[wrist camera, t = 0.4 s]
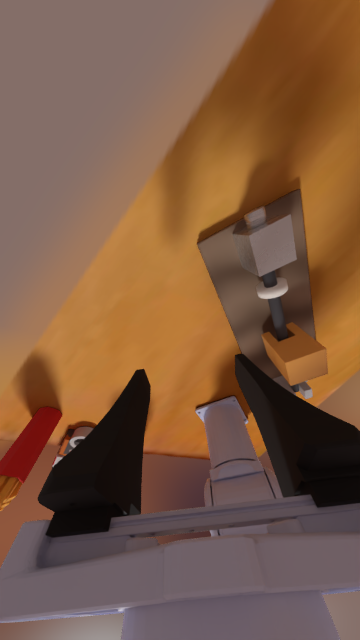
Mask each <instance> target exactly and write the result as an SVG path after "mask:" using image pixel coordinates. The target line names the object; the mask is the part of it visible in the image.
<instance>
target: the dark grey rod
mask: <svg viewBox="0 0 360 640" xmlns="http://www.w3.org/2000/svg"><path fill="white" fill-rule="evenodd" d="M262 279H263V282H261V283H260V284H258V285H257V287H256V290H257V294H258V296H259V297H260V298H263V299H268V303H269V307H270V311H271V315H272V319H273V323H274V327H275V331H276V335H277V339H278V342H279V341H282V340H285V339H287V338H289V337H288V332H287V327H286V322H285V317H284V312H283V307H282V303H281V298H280V296H281V295H283V294H284V293H286V292H287V290H288V285H287V280H286V279H285V278H280V277H277V278H276V273H275V270H273V271H271V272H269V273H267V274H265V275H263V276H262ZM289 386H290V384H289ZM290 387H291V389H292V390H293V391H294V392H298V391H299V385H298V384H295V385H292V386H290Z"/></svg>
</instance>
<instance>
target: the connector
mask: <svg viewBox="0 0 360 640" xmlns="http://www.w3.org/2000/svg"><path fill="white" fill-rule="evenodd" d="M244 218H245V222H246V226H247V227H245V228H243V229H241V230H239V231H237V232H235V233H233V234H232V235H233V238H234V242H235V245H236V248H237V252H238V255H239V258H240V261H241V265H242V268H244V269H246V270H248V271H250V272H251V273H253V274H255V275H257V276H259V277H261V276H263V275H265V274H267V273H269V272H271V271H273V270H275V269H278V268H280V267H282V266H284V265H286V264H288V263H290V262H293V261H295V260H297V257H296V250H295V243H294V235H293V228H292V220H291V214H287V215H278V216H269V217H267V216H266V211H265V206H264V205H263V206H260V207H258V208H256V209H254V210H252V211H250V212H248V213H246V214H245V215H244Z"/></svg>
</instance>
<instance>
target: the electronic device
mask: <svg viewBox="0 0 360 640" xmlns="http://www.w3.org/2000/svg"><path fill="white" fill-rule="evenodd" d="M93 429H94V428H91V427H79V428H77V429H76V430H72V429H69V430H68V432H67V434H66V436H65V438H64V440H63V443H62V445H61V447H60V449H59V451H58V453H57V455H56V457H55V460H54V462H53V464H52V468H53V466H54V465H55V464H57V463H58V462H59V461H60V460H61V459H62V458H63V457H65V456H66V455H67V454H68V453H69V452H70V451H71V450H73V449H74V448H75V447H76V446H77V445H78V444H79V443H80V442H81V441H82V440H83V439H84V438H85V437H86V436H87V435H88V434H89V433H90V432H91V431H92V430H93Z"/></svg>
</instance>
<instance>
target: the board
mask: <svg viewBox="0 0 360 640" xmlns="http://www.w3.org/2000/svg"><path fill="white" fill-rule="evenodd" d="M265 211H266V216H267V217H269V216H278V215H287V214H291V220H292V228H293V235H294V243H295V250H296V257H297V260H295V261H293V262H290V263H288V264H286V265H284V266H282V267H280V268H278V269H275V273H276V278H277V277H280V278H285V279H286V280H287V285H288V290H287V292H286V293H284V294H283V295H281V296H280V298H281V303H282V307H283V312H284V317H285V322H286V324H289V323H291V322H293V323H294V324H295V325H297V326H298V327H299V328H301V329H302V330H303V331H304V332H306V333H307V334H308V335H310V336H311V337H312V338H313V339H315V329H314V320H313V310H312V300H311V291H310V281H309V272H308V262H307V252H306V243H305V233H304V223H303V214H302V204H301V195H300V189H298V190H295V191H292V192H290V193H288V194H286V195H285V196H283V197H281V198H279V199H277V200H275V201H274V202H272V203H270V204H268V205H266V206H265ZM245 227H247V226H246V222H245V218H242V219H241V220H239V221H237V222H235V223H233V224H231V225H230V226H228V227H226V228H224V229H222V230H220V231H219V232H217V233H215V234H213V235H211V236H210V237H208V238H206V239H204V240H202V241H200V242H199V243H197V245H198V248H199V250H200V253H201V255H202V258H203V260H204V262H205V265H206V267H207V270H208V272H209V275H210V277H211V279H212V282H213V284H214V287H215V289H216V292H217V294H218V297H219V299H220V301H221V304H222V306H223V309H224V311H225V314H226V316H227V318H228V321H229V323H230V326H231V328H232V331H233V333H234V335H235V338H236V340H237V343H238V345H239V348H240V350H241V353H242V354H244V355H245V356H246V357H247V358H248V359H250V360H251V361H252V362H253V363H254V364H255V365H256V366H257V367H258V368H259V369H261V370H262V371H263V372H264V373H265V374H267V375H268V376H269V377H270V378H272V379H274V378H277V377H279V376H282V374H281V372H280V371H279V370H278V368H277V367H276V366H275V365H274V363H273V362H272V361H271V359H270V358H269V357H268V355H267V352H266V349H265V345H264V342H263V339H262V336H261V335H262V334H264V333H267V332H270V333H271V334H272V336H273V337H274V338H275V339H276V340H277V341H278V339H277V335H276V331H275V327H274V323H273V319H272V315H271V311H270V307H269V303H268V299H263V298H260V297H259V296H258V294H257V290H256V287H257V285H258V284H260V283H261V282H263V279H262V276H261V277H259V276H257V275H255V274H253V273H251V272H250V271H248V270H246V269H244V268H242V265H241V261H240V258H239V255H238V252H237V248H236V245H235V242H234V238H233V235H232V234H233V233H235V232H237V231H239V230H241V229H243V228H245ZM315 340H316V339H315Z"/></svg>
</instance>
